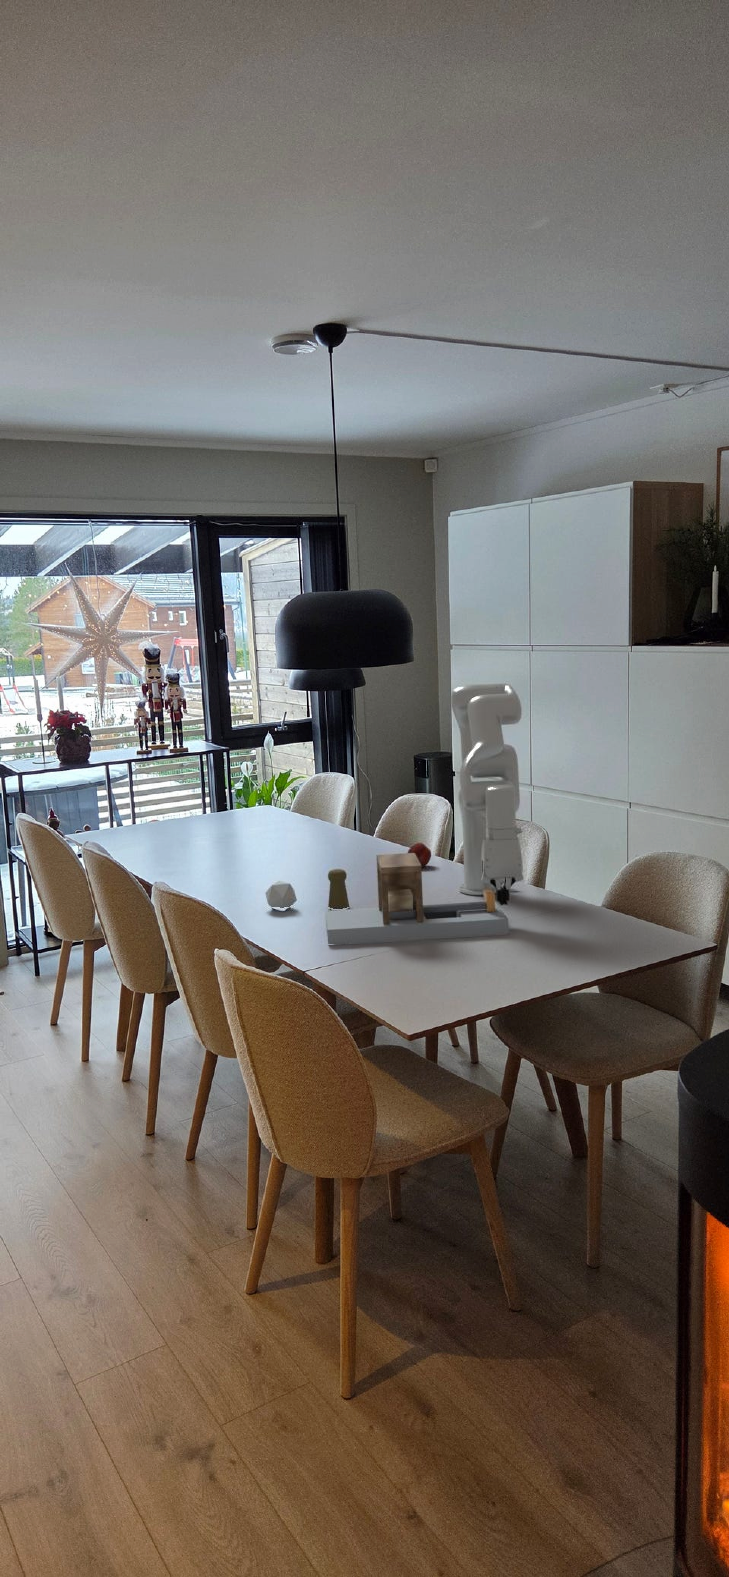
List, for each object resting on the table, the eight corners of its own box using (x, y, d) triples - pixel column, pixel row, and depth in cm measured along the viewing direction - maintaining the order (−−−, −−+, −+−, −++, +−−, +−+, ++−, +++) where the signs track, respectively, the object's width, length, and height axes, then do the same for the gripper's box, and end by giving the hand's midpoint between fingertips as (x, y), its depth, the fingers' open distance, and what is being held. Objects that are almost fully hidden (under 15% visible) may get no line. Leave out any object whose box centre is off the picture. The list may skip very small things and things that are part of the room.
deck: (494, 915, 277) (494, 900, 276) (508, 934, 259) (508, 918, 259) (326, 925, 274) (325, 910, 274) (328, 945, 257) (327, 929, 256)
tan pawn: (325, 906, 293) (323, 868, 292) (345, 904, 295) (343, 866, 294) (332, 911, 288) (330, 873, 286) (352, 909, 290) (350, 870, 288)
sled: (490, 904, 272) (489, 887, 271) (496, 913, 263) (496, 895, 262) (381, 910, 270) (380, 893, 269) (384, 920, 261) (383, 902, 261)
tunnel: (416, 906, 274) (414, 852, 271) (423, 922, 259) (421, 865, 257) (378, 909, 273) (376, 855, 271) (383, 924, 258) (381, 867, 256)
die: (303, 911, 292) (299, 880, 296) (287, 903, 285) (283, 871, 289) (278, 920, 295) (274, 889, 299) (262, 912, 288) (258, 881, 292)
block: (410, 911, 269) (410, 889, 268) (413, 917, 263) (412, 894, 262) (387, 913, 269) (386, 890, 268) (389, 919, 263) (388, 896, 262)
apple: (430, 869, 333) (429, 845, 332) (406, 869, 334) (405, 845, 333) (432, 864, 340) (431, 840, 339) (408, 864, 342) (407, 840, 340)
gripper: (526, 829, 269) (528, 898, 271) (469, 832, 268) (471, 901, 270) (533, 834, 261) (535, 905, 264) (474, 838, 260) (476, 909, 263)
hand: (502, 903), depth 267 cm, fingers closed
